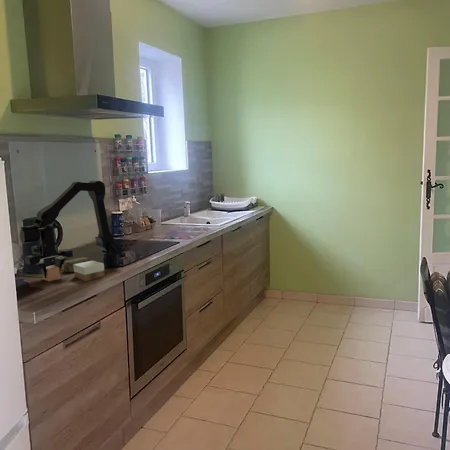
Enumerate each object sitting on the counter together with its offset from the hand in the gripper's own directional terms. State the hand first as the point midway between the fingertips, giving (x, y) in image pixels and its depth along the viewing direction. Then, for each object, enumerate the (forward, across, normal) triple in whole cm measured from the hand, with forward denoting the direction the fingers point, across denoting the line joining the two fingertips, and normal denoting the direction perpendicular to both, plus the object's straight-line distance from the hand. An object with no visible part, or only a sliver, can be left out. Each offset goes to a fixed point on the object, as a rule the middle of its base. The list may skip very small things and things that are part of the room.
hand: (51, 276), depth 194 cm
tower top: (-1, -12, +10) cm, 15 cm away
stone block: (+1, -15, -6) cm, 16 cm away
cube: (+1, 0, 0) cm, 1 cm away
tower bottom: (+2, -12, +10) cm, 16 cm away
